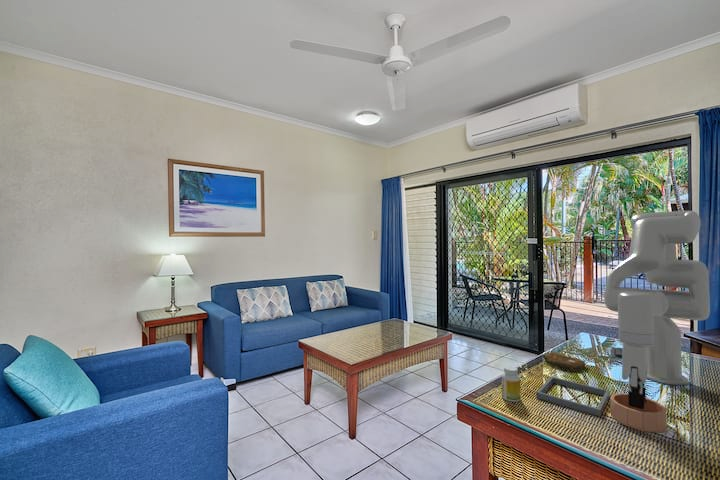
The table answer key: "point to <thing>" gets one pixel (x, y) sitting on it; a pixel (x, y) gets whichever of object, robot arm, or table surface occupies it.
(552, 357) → the decorative rock
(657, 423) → the bowl
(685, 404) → the table surface
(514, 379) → the supplement bottle
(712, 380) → the table surface
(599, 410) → the grey flat square frame
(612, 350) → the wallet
